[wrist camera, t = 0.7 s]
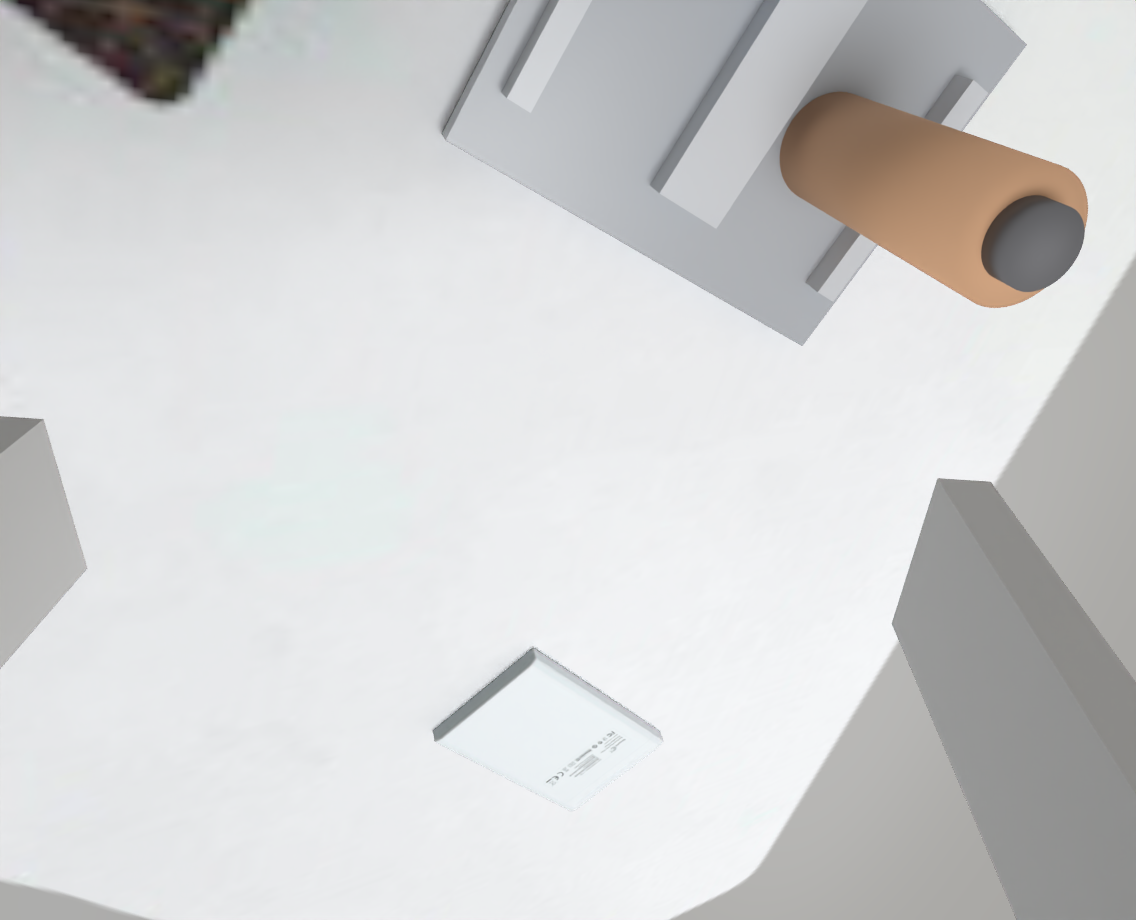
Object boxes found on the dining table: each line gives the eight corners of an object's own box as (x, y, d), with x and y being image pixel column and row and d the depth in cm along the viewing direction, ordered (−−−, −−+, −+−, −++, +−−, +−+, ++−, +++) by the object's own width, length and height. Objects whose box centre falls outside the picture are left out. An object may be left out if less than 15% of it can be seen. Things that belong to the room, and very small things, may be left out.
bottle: (775, 109, 34) (979, 197, 23) (877, 78, 34) (1123, 152, 24) (783, 214, 37) (970, 338, 26) (878, 185, 37) (1101, 295, 26)
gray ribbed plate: (791, 335, 41) (844, 384, 37) (442, 133, 33) (458, 166, 29) (1007, 41, 36) (1098, 58, 32) (658, -292, 28) (719, -330, 23)
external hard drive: (531, 640, 49) (657, 724, 56) (431, 723, 51) (565, 795, 57) (537, 660, 48) (665, 744, 54) (434, 744, 49) (570, 816, 56)
